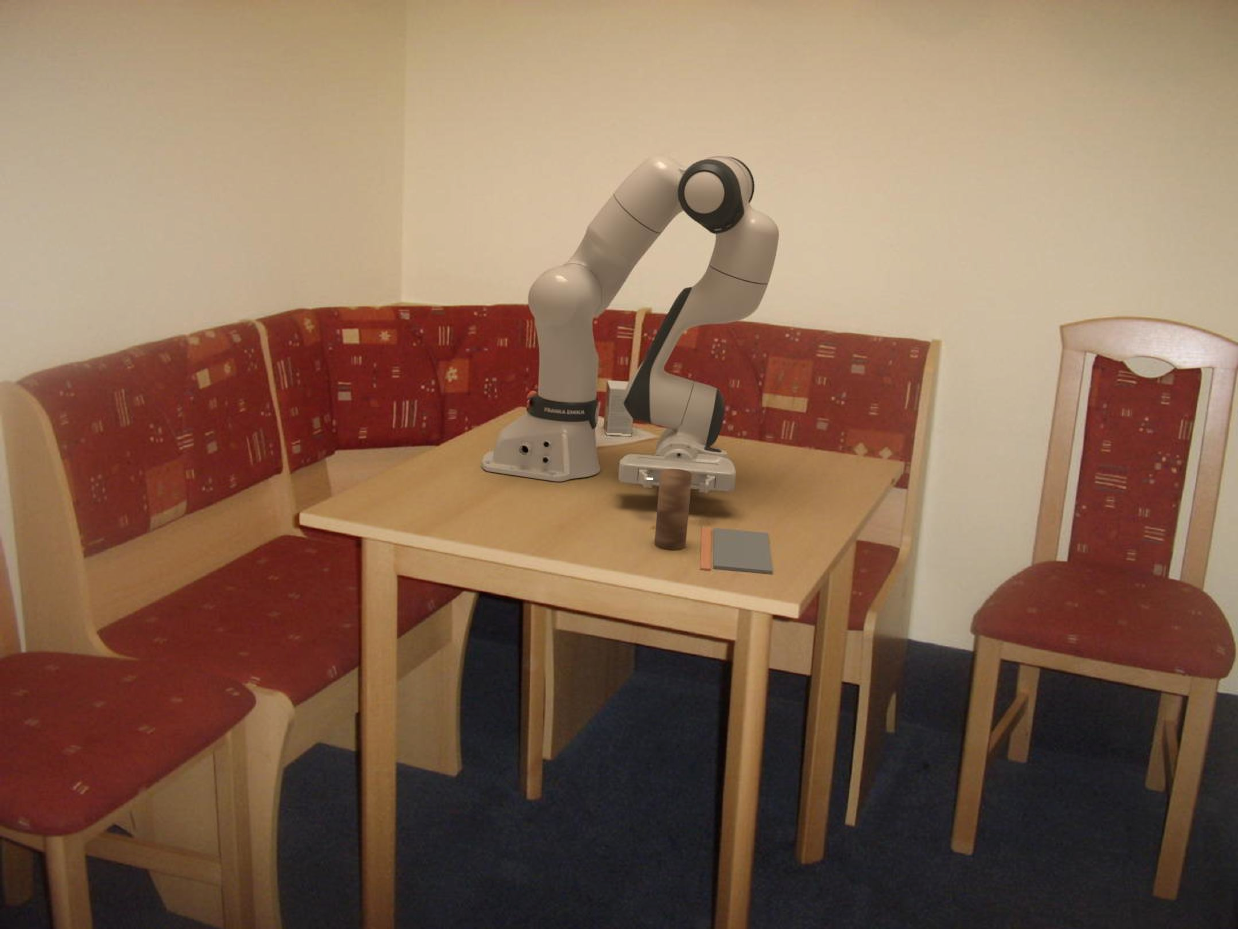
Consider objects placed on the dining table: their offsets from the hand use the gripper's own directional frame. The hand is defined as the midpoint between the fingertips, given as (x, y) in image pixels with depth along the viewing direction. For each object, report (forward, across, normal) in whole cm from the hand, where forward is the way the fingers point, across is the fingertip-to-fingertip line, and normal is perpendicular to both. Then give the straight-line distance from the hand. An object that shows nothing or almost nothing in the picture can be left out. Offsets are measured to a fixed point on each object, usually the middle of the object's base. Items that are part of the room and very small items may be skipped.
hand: (675, 485), depth 203 cm
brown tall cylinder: (+11, 0, +6) cm, 13 cm away
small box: (-59, -14, +7) cm, 61 cm away
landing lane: (+11, +10, +7) cm, 17 cm away
